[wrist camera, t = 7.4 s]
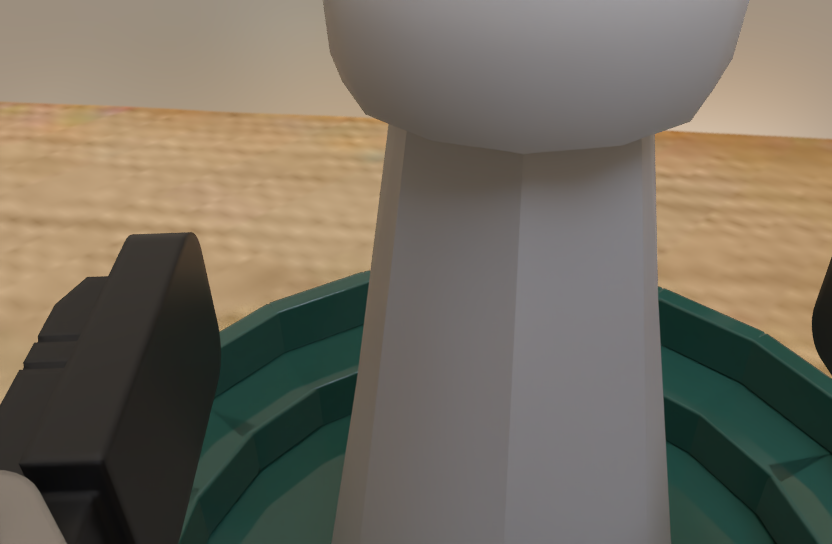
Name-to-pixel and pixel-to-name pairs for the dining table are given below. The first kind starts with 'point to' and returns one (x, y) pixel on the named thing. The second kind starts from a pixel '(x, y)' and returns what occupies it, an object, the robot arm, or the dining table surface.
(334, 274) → the dining table surface
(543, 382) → the salt shaker
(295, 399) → the teal round dish
